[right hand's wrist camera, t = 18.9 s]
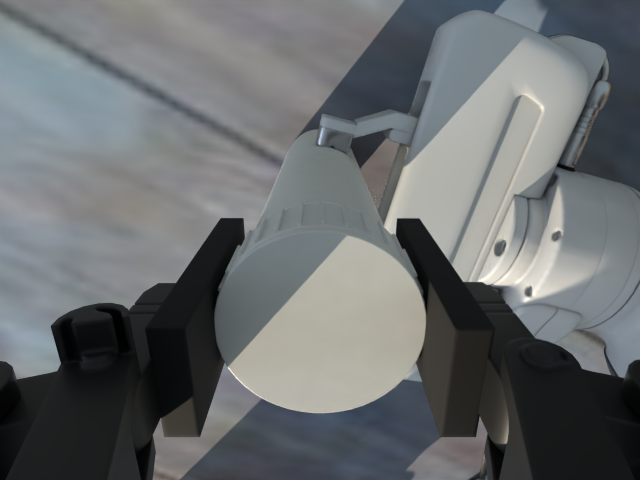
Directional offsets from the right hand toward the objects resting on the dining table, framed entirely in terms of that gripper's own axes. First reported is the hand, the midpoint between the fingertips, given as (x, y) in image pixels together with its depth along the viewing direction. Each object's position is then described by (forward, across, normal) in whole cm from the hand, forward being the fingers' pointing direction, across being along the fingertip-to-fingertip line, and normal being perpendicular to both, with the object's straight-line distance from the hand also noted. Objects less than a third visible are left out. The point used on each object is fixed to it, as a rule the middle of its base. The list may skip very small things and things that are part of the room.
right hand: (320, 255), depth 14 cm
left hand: (+9, -1, 0) cm, 9 cm away
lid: (-4, 0, 0) cm, 4 cm away
